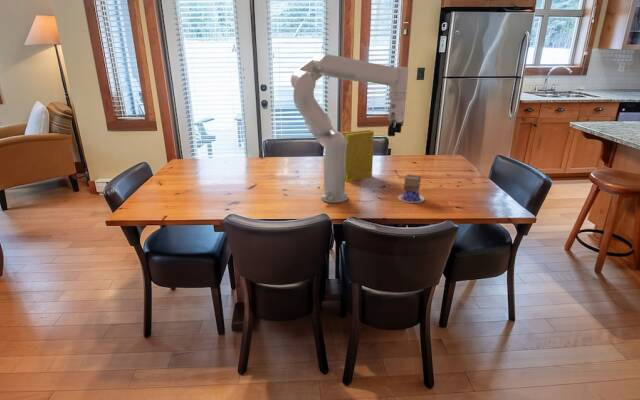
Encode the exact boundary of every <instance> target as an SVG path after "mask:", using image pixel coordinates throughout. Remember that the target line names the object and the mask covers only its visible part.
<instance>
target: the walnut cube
mask: <svg viewBox="0 0 640 400" xmlns="http://www.w3.org/2000/svg"><path fill="white" fill-rule="evenodd" d="M421 176H422V175H419V174H409V173H407V174H406V176H405V177H404V185H403V186H404V187H403V191H405V190H406V191H413V192H418V191H419V190H420V187H421V179H422V178H421Z"/></svg>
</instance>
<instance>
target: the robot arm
mask: <svg viewBox="0 0 640 400" xmlns="http://www.w3.org/2000/svg"><path fill="white" fill-rule="evenodd" d="M322 77H329V78H334V79H335V78H336V79H341V80H346V81H353V82H365V83H372V84H378V85H383V86H389V94H388V100H390V101H389V108H388V126H387V127H388V128H387V136H388V137H395V136H396V133H398V134H400V133H401V132H402V126H403V125H402V123H403V121H404V120H405V107H406V106H405V105H406V103H405V101H406V100H407V92H408V91H407V90H408V80H409V68H408V67H406V66H389V65H384V64H378V63H372V62H368V61H364V60H361V59H356V58H350V57H349V58H348V57H344V56H340V55H334V54H329V53H325V54H323V53H322V54H318V55H316V56H314V57H313V58H311V59H310V60H309V61H307V62H306V63H305V64H304V65H302V66H301V67H299V68H298V69H296V70H295V71H294V72H293V73H292V74H291V78H290V84H291V86H292V88H293V94H292V95H293V103H294V106H295V108H296V109H297V111H298V112H299V114H300V115H301V117H302V118H303V119H304V124H305V126H306V128H307V129H308V131H309V132H310V133H311V135H313V137H314V138H315V140H316V141H317V142H318V143H319V144H320V145H321V146H322V147H323V148H324V149H325V150H324V157H323V158H324V159H323V179H324V180H323V181H324V182H323V183H324V186H323V187H324V189H323V190H324V192H323V193H322V194H321V196H320V198H321V200H322V201H323V202H325V203H332V204H338V203H344V202H346V201H348V199H349V196H348V194H347V193H346V191H345V189H346V188H345V186H346V183H345V182H346V181H345V154H346V148H347V141H346V138H345V137H344V135H343V134H342V133H341V132H340V131H338V130H336V129H335V128H334V126H332V122H331V119H330V117H329V116H328V115H327V113H326V112H325V111H324V110H323V108H322V107H321V105H320V104H319V102H318V101H317V100H316V99H315V96H314V93H315V92H314V91H315V88H316V85H317V84H316V83H317V81H318V80H319V79H321V78H322Z"/></svg>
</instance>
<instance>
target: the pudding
mask: <svg viewBox="0 0 640 400" xmlns="http://www.w3.org/2000/svg"><path fill="white" fill-rule="evenodd" d="M419 192H420V191H419V190H418V192H413V191H406V190H403V193H401V194H399V195H398V196H397V198H398V200H400V201H401V202H403V203H410V204H414V203H415V204H416V203H417V204H418V203H419V204H420V203H422V202H424V201H425V198H424V197H423V196H422V195H420V193H419Z"/></svg>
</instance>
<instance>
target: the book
mask: <svg viewBox="0 0 640 400" xmlns="http://www.w3.org/2000/svg"><path fill="white" fill-rule="evenodd" d="M340 133H342V134H343V135H344V137H345V138H346V141H347V148H346V154H345V182H353V181H357V180H365V179H370V178H372V177H373V160H374V159H373V157H374V137H375V136H374V135H375V134H374V133H375V131H374V130H370V129H369V130H357V131H355V130H354V131H344V132H340Z"/></svg>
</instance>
